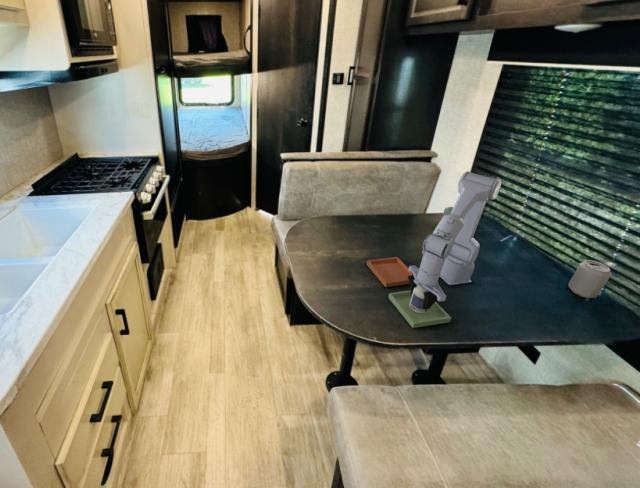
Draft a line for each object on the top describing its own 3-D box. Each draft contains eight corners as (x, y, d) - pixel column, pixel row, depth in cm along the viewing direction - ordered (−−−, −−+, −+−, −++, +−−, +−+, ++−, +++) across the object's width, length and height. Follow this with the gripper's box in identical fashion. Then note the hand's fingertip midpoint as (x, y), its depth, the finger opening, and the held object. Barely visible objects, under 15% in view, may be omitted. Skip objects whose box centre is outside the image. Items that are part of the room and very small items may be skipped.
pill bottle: (429, 315, 102) (437, 292, 98) (411, 313, 103) (418, 290, 99) (423, 303, 107) (431, 281, 103) (407, 300, 108) (413, 279, 104)
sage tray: (421, 292, 112) (423, 288, 111) (449, 322, 100) (451, 317, 100) (388, 297, 110) (389, 293, 109) (412, 328, 99) (414, 323, 98)
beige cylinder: (588, 287, 114) (604, 260, 109) (601, 301, 108) (619, 274, 102) (562, 282, 116) (577, 256, 111) (574, 296, 110) (590, 269, 105)
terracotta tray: (396, 260, 129) (397, 256, 128) (417, 282, 117) (418, 278, 116) (366, 264, 127) (367, 260, 126) (385, 287, 115) (386, 283, 114)
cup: (436, 224, 154) (441, 206, 149) (453, 224, 153) (459, 207, 149) (444, 232, 147) (450, 214, 142) (461, 233, 146) (468, 215, 142)
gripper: (404, 256, 104) (395, 287, 110) (435, 286, 91) (424, 320, 97) (423, 254, 105) (413, 285, 111) (456, 283, 92) (444, 317, 98)
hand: (420, 301), depth 104 cm, fingers closed on pill bottle, 5 cm apart
